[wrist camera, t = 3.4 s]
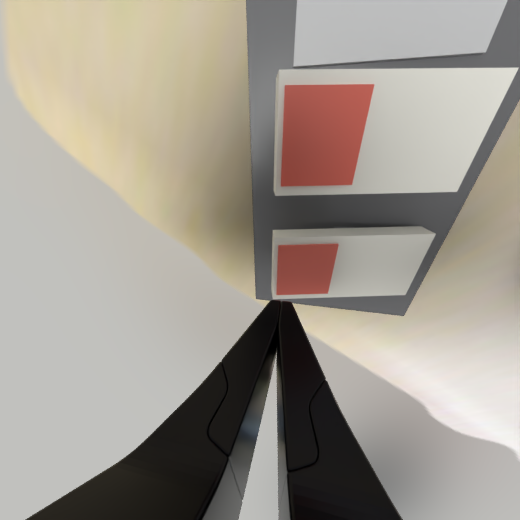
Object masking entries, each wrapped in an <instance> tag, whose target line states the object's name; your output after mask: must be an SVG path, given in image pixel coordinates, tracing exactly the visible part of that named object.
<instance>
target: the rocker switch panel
mask: <svg viewBox="0 0 520 520" xmlns="http://www.w3.org/2000/svg"><path fill="white" fill-rule="evenodd" d="M246 10H247V41H248V72H249V102H250V133H251V164H252V194H253V225H254V255H255V286H256V299H261V300H270V301H271V300H280V301H281V302H282V301H289V302H292V303H296V304H304V305H313V306H322V307H330V308H339V309H348V310H356V311H365V312H374V313H382V314H391V315H400V316H404V315H405V313H406V311H407V309H408V307H409V305H410V304H411V302H412V300H413V298H414V296H415V294H416V292H417V290H418V289H419V287H420V285H421V283H422V281H423V279H424V277H425V275H426V274H427V272H428V270H429V268H430V266H431V264H432V262H433V260H434V259H435V257H436V255H437V253H438V251H439V249H440V247H441V246H442V244H443V242H444V240H445V238H446V236H447V234H448V232H449V231H450V229H451V227H452V225H453V223H454V221H455V219H456V217H457V216H458V214H459V212H460V210H461V208H462V206H463V204H464V202H465V201H466V199H467V197H468V195H469V193H470V191H471V189H472V187H473V186H474V184H475V182H476V180H477V178H478V176H479V174H480V172H481V171H482V169H483V167H484V165H485V163H486V161H487V159H488V158H489V156H490V154H491V152H492V150H493V148H494V146H495V144H496V143H497V141H498V139H499V137H500V135H501V133H502V131H503V129H504V128H505V126H506V124H507V122H508V120H509V118H510V116H511V114H512V113H513V111H514V109H515V107H516V105H517V103H518V101H519V99H520V0H246ZM402 68H519V69H518V71H517V73H516V75H515V77H514V79H513V81H512V83H511V85H510V87H509V89H508V91H507V93H506V95H505V97H504V99H503V101H502V103H501V105H500V107H499V109H498V111H497V113H496V115H495V117H494V119H493V121H492V123H491V125H490V127H489V129H488V131H487V133H486V135H485V137H484V139H483V141H482V143H481V145H480V147H479V149H478V151H477V153H476V155H475V157H474V159H473V161H472V163H471V165H470V167H469V169H468V171H467V173H466V175H465V177H464V179H463V181H462V183H461V185H460V187H459V189H458V191H457V192H430V193H384V194H337V195H290V196H275V193H274V146H275V101H276V77H277V74H278V71H279V70H286V69H402ZM409 226H422V227H424V228H426V229H428V230H429V231H431V232H433V233H435V234H436V235H435V237H434V239H433V241H432V243H431V245H430V247H429V249H428V251H427V253H426V255H425V257H424V259H423V261H422V263H421V265H420V267H419V269H418V271H417V273H416V275H415V277H414V279H413V281H412V283H411V285H410V287H409V289H408V291H407V293H406V295H392V296H360V297H329V298H297V299H273V298H272V290H271V282H272V237H273V230H288V229H329V228H369V227H409Z"/></svg>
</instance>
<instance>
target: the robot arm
mask: <svg viewBox="0 0 520 520" xmlns="http://www.w3.org/2000/svg"><path fill="white" fill-rule="evenodd" d="M276 352H277V426H278V427H277V432H278V505H279V506H278V507H279V520H403V519H402V518H401V516H400V515H399V513H398V511H397V510H396V508H395V506H394V505H393V503H392V501H391V500H390V498H389V496H388V494H387V492H386V491H385V489H384V488H383V485H382V484H381V482H380V480H379V478H378V477H377V475H376V473H375V471H374V470H373V468H372V466H371V464H370V462H369V461H368V459H367V457H366V456H365V454H364V452H363V450H362V449H361V447H360V445H359V443H358V441H357V440H356V438H355V436H354V435H353V432H352V431H351V429H350V427H349V425H348V423H347V421H346V419H345V418H344V416H343V414H342V412H341V410H340V408H339V406H338V404H337V402H336V400H335V397H334V395H333V393H332V391H331V389H330V387H329V385H328V382H327V381H326V380H325V379H326V378H325V376H324V374H323V371H322V369H321V367H320V365H319V363H318V360H317V358H316V356H315V354H314V351H313V349H312V347H311V344H310V342H309V340H308V338H307V336H306V333H305V331H304V329H303V327H302V324H301V322H300V320H299V318H298V315H297V313H296V311H295V309H294V306H293V304H292V302H289V301H282V302H281V301H280V300H271V301H270V302H269V303H268V304H267V305H266V307H265V308H264V309H263V310H262V312H261V313H260V314H259V315H258V316H257V318H256V319H255V320H254V321H253V323H252V324H251V325H250V326H249V327H248V329H247V330H246V331H245V332H244V334H243V335H242V336H241V337H240V338H239V340H238V341H237V342H236V343H235V345H234V346H233V347H232V348H231V349H230V351H229V352H228V353H227V355H225V357H224V358H223V359H222V362H220V363H219V364H218V365H217V366H216V367H215V369H214V370H213V371H212V372H211V374H210V375H209V376H208V377H207V378H206V379H205V380H204V381H203V383H202V384H201V385H200V386H199V387H198V388H197V389H196V390H195V391H194V392H193V393H192V394H191V395H190V396H189V397H188V398H187V399H186V400H185V402H183V403H182V404H181V405H180V406H179V407H178V408H177V409H176V410H175V411H174V412H173V413H172V414H171V415H170V416H169V417H168V418H167V419H166V420H165V421H164V422H163V423H162V424H161V425H160V426H159V427H158V428H157V429H156V430H155V431H154V432H153V433H152V434H151V435H150V436H149V437H148V438H147V439H146V440H145V441H144V442H143V443H142V444H141V445H140V446H138V447H137V448H136V449H135V450H134V451H133V452H131V453H130V454H129V455H127V456H126V457H125V458H123V459H122V460H121V461H119V462H118V463H116V464H115V465H113V466H112V467H110V468H108V469H107V470H105V471H103V472H102V473H100V474H99V475H97V476H95V477H94V478H92V479H91V480H89V481H87V482H86V483H84V484H83V485H81V486H79V487H78V488H76V489H74V490H73V491H71V492H69V493H68V494H66V495H65V496H63V497H62V498H60V499H58V500H57V501H55V502H53V503H52V504H50V505H48V506H47V507H45V508H44V509H42V510H40V511H39V512H37V513H35V514H34V515H32V516H31V517H29V518H27V519H26V520H238V519H239V514H240V510H241V506H242V500H243V497H244V492H245V488H246V484H247V479H248V475H249V471H250V466H251V462H252V458H253V453H254V449H255V445H256V440H257V436H258V432H259V427H260V423H261V419H262V414H263V410H264V406H265V401H266V397H267V392H268V388H269V384H270V380H271V375H272V371H273V367H274V362H275V358H276Z"/></svg>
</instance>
